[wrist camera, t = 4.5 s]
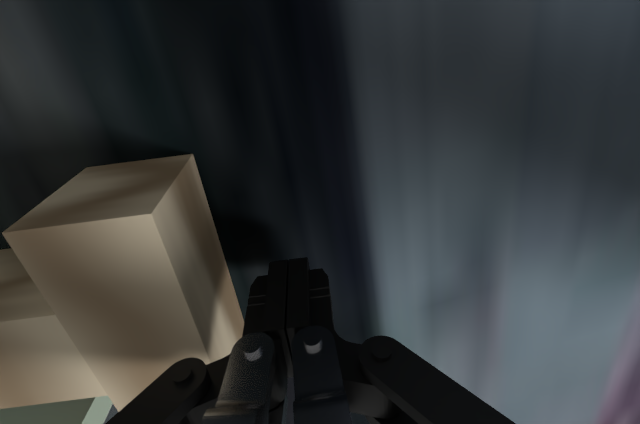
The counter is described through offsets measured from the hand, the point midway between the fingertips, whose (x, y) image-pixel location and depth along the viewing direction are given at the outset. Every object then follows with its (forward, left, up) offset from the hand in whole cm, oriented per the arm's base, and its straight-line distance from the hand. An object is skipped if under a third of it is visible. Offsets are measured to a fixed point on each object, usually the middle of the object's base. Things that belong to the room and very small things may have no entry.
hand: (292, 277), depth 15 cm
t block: (+7, 0, -2) cm, 7 cm away
